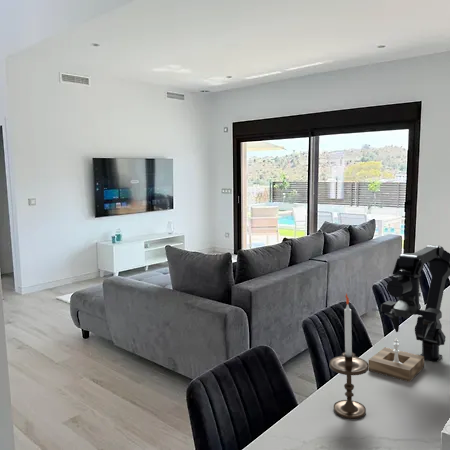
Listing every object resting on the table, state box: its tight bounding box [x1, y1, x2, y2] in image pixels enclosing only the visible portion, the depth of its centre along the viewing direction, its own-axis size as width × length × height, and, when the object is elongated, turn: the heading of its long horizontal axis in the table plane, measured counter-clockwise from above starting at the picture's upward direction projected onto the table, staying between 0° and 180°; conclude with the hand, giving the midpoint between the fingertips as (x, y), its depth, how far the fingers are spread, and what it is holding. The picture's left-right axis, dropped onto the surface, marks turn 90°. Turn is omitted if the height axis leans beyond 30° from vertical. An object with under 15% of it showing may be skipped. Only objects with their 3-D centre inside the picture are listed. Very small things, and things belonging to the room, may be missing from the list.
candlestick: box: [329, 293, 369, 420], centre depth 122 cm, size 11×11×35 cm
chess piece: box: [392, 338, 403, 364], centre depth 148 cm, size 5×5×10 cm
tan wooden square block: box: [367, 346, 425, 383], centre depth 149 cm, size 14×14×4 cm
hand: (410, 334), depth 146 cm, fingers open, 9 cm apart
